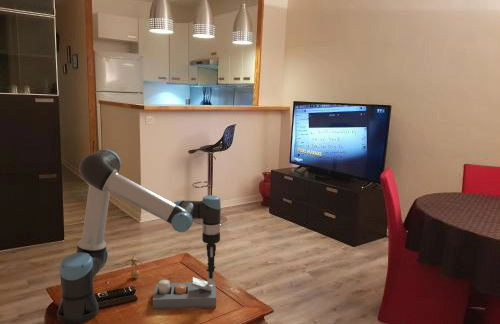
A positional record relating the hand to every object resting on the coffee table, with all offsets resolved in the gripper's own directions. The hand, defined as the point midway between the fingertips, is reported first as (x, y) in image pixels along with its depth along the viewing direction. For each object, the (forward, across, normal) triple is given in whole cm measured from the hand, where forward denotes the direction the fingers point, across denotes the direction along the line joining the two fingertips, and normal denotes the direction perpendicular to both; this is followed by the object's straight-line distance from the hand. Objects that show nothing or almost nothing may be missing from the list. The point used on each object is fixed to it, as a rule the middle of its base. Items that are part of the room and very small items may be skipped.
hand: (210, 283), depth 172 cm
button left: (+3, 0, +20) cm, 20 cm away
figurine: (+7, +21, +36) cm, 42 cm away
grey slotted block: (+7, 0, +11) cm, 13 cm away
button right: (+5, 0, +13) cm, 14 cm away
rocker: (+1, 0, +4) cm, 4 cm away
